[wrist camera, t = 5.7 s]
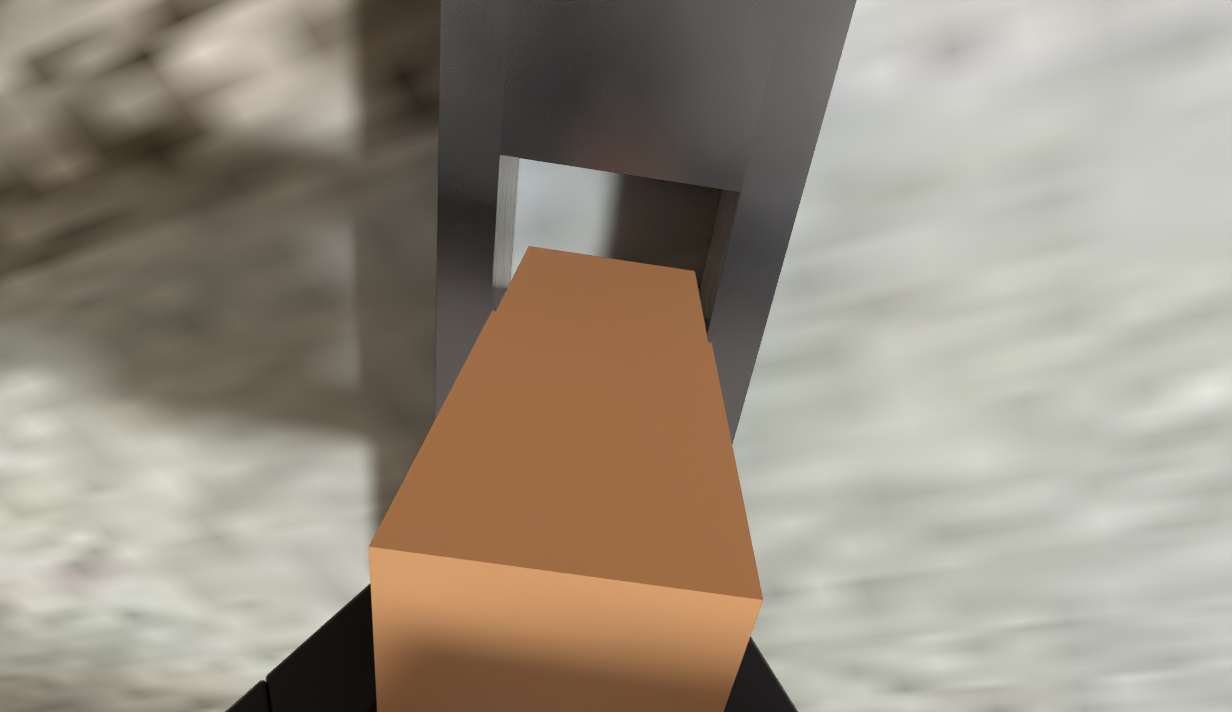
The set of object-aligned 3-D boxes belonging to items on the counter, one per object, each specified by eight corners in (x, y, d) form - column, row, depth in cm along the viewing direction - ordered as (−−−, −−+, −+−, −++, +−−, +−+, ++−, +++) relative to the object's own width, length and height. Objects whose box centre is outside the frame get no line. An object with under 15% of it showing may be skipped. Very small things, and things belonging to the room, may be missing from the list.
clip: (622, 612, 13) (605, 1045, 7) (500, 595, 13) (393, 1020, 7) (695, 265, 9) (763, 599, 4) (529, 238, 9) (368, 546, 4)
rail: (664, 612, 18) (667, 677, 16) (452, 584, 18) (432, 646, 16) (835, -49, 11) (873, -62, 9) (476, -109, 11) (442, -134, 9)
